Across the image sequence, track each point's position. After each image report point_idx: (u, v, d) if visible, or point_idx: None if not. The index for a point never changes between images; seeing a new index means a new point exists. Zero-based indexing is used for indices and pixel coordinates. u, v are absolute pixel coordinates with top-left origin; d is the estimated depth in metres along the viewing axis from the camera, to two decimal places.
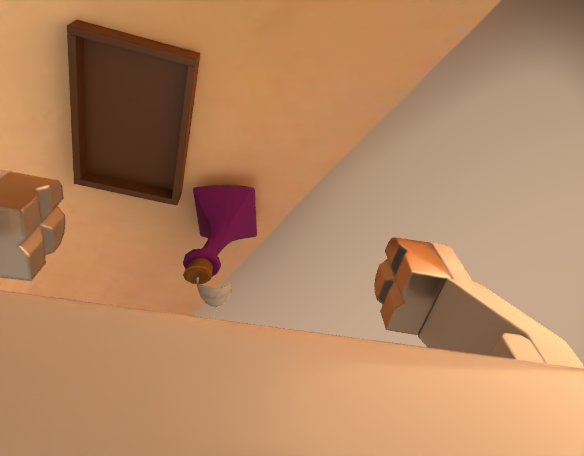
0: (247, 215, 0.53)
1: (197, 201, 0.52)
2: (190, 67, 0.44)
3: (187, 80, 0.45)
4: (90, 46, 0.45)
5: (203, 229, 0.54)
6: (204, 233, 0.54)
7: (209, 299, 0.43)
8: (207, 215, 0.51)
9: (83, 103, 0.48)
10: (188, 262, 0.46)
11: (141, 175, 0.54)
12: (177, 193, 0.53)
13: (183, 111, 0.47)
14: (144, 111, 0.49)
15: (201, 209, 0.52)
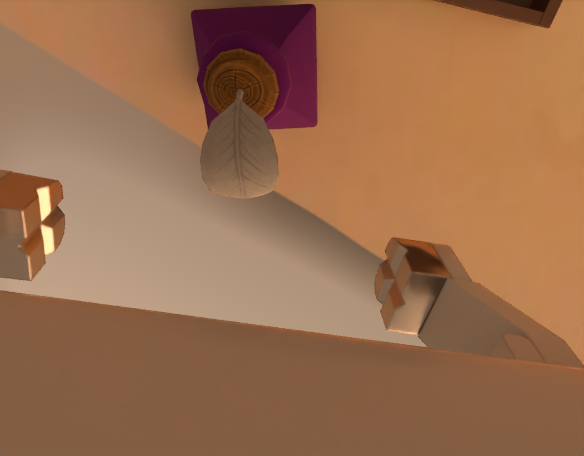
0: (272, 123, 0.28)
1: (293, 16, 0.25)
2: (540, 17, 0.27)
3: (520, 9, 0.26)
4: None
5: (226, 27, 0.25)
6: (217, 30, 0.24)
7: (231, 159, 0.15)
8: (283, 47, 0.24)
9: None
10: (252, 49, 0.17)
11: None
12: None
13: None
14: None
15: (285, 29, 0.24)
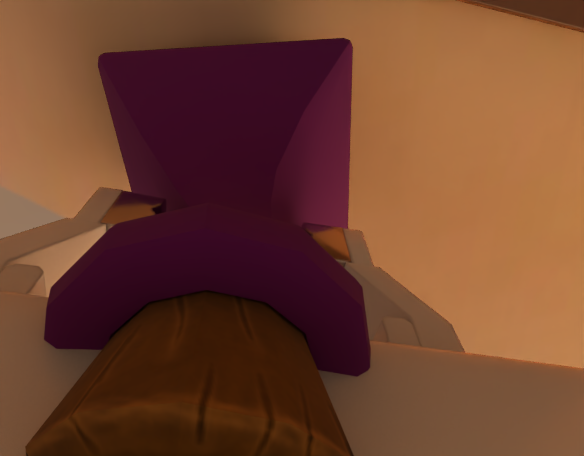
0: None
1: (311, 66, 0.12)
2: None
3: None
4: None
5: (171, 93, 0.12)
6: (151, 99, 0.11)
7: None
8: (297, 138, 0.11)
9: None
10: (241, 281, 0.04)
11: None
12: None
13: None
14: None
15: (296, 95, 0.11)
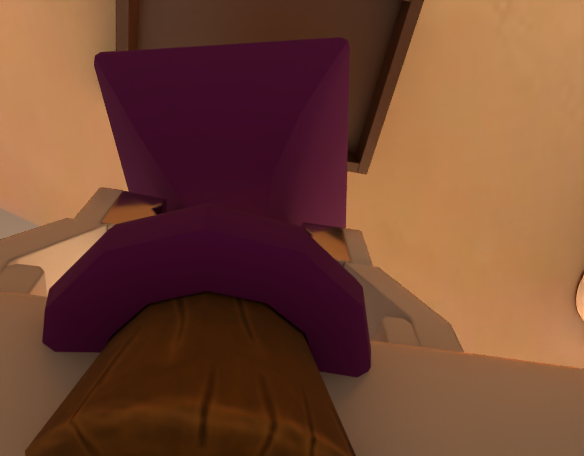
0: None
1: (309, 65, 0.12)
2: (357, 167, 0.32)
3: None
4: (379, 7, 0.28)
5: (168, 92, 0.12)
6: (148, 98, 0.11)
7: None
8: (295, 138, 0.11)
9: None
10: (241, 282, 0.04)
11: None
12: None
13: None
14: None
15: (294, 94, 0.11)
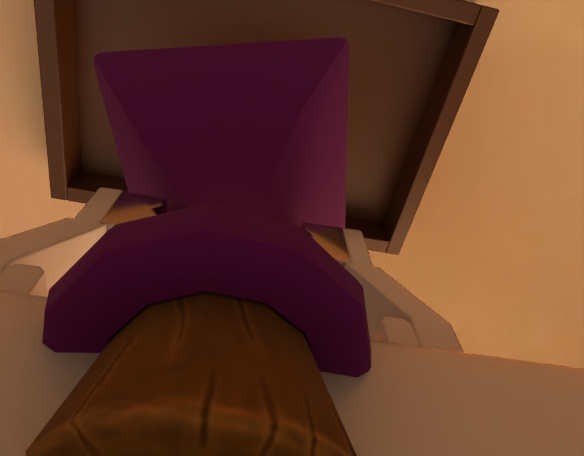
0: None
1: (309, 65, 0.12)
2: (385, 245, 0.24)
3: None
4: (423, 31, 0.20)
5: (167, 92, 0.12)
6: (147, 98, 0.11)
7: None
8: (295, 138, 0.11)
9: None
10: (241, 283, 0.04)
11: None
12: None
13: None
14: None
15: (294, 94, 0.11)
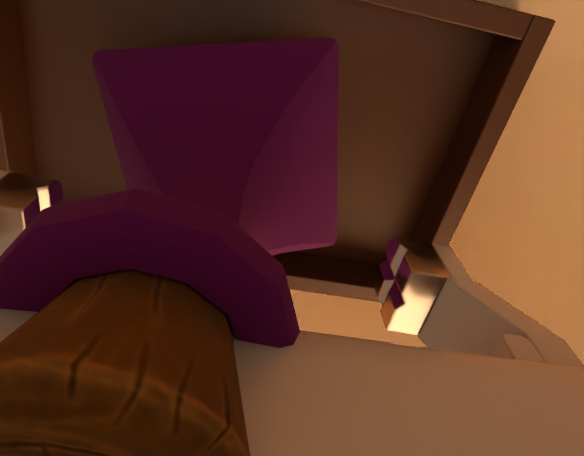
0: None
1: (295, 64, 0.12)
2: None
3: None
4: (453, 45, 0.16)
5: (158, 89, 0.12)
6: (139, 94, 0.12)
7: None
8: (276, 134, 0.11)
9: None
10: (159, 262, 0.05)
11: (62, 123, 0.17)
12: None
13: (302, 280, 0.19)
14: None
15: (278, 93, 0.12)
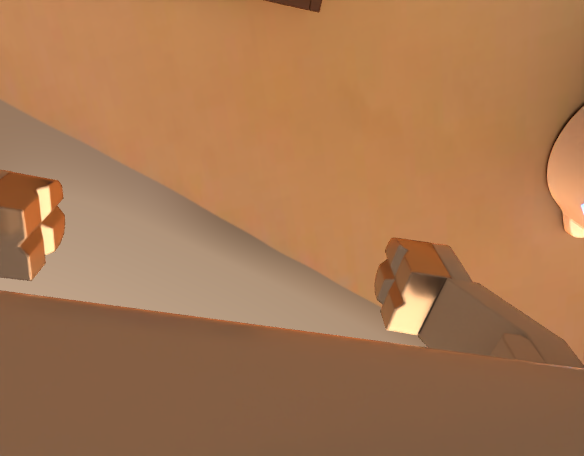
0: None
1: None
2: (308, 2, 0.31)
3: None
4: None
5: None
6: None
7: None
8: None
9: None
10: None
11: None
12: None
13: None
14: None
15: None
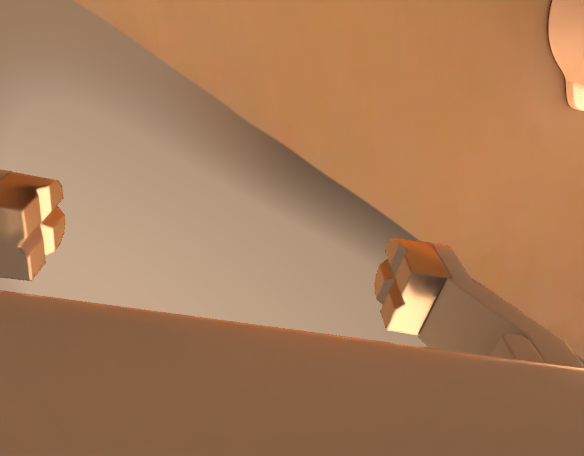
0: None
1: None
2: None
3: None
4: None
5: None
6: None
7: None
8: None
9: None
10: None
11: None
12: None
13: None
14: None
15: None
